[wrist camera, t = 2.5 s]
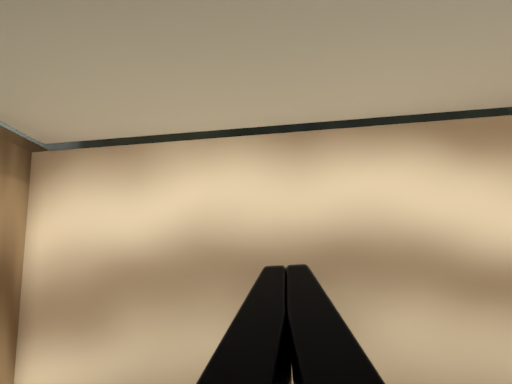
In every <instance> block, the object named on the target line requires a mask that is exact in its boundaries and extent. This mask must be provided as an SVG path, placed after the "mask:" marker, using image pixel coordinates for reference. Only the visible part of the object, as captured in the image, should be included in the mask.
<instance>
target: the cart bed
mask: <svg viewBox="0 0 512 384" xmlns="http://www.w3.org/2000/svg"><path fill="white" fill-rule="evenodd" d="M292 264H306V265H308V267H309V268H310V269H311V271H312V272H313V274H314V275H315V277H316V279H317V280H318V282H319V283H320V285H321V286H322V288H323V289H324V291H325V292H326V294H327V295H328V297H329V298H330V300H331V301H332V303H333V304H334V306H335V308H336V309H337V311H338V312H339V314H340V315H341V317H342V318H343V320H344V321H345V323H346V324H347V326H348V327H349V329H350V330H351V332H352V333H353V335H354V337H355V338H356V340H357V341H358V343H359V344H360V346H361V347H362V349H363V350H364V352H365V353H366V355H367V356H368V358H369V359H370V361H371V362H372V364H373V366H374V367H375V369H376V370H377V372H378V373H379V375H380V376H381V378H382V379H383V381H384V382H385V384H512V115H507V116H494V117H481V118H468V119H455V120H442V121H430V122H417V123H404V124H391V125H378V126H365V127H352V128H340V129H327V130H314V131H301V132H288V133H275V134H262V135H250V136H237V137H224V138H211V139H198V140H185V141H172V142H160V143H147V144H134V145H121V146H108V147H95V148H82V149H69V150H57V151H49V150H47V149H45V148H43V147H41V146H39V145H37V144H35V143H33V142H31V141H29V140H27V139H26V138H24V137H22V136H20V135H18V134H16V133H14V132H12V131H10V130H8V129H6V128H4V127H2V126H0V384H196V383H197V381H198V379H199V378H200V376H201V374H202V372H203V371H204V369H205V367H206V365H207V364H208V362H209V360H210V359H211V357H212V355H213V353H214V352H215V350H216V348H217V347H218V345H219V343H220V341H221V340H222V338H223V336H224V334H225V333H226V331H227V329H228V328H229V326H230V324H231V322H232V321H233V319H234V317H235V316H236V314H237V312H238V310H239V309H240V307H241V305H242V303H243V302H244V300H245V298H246V297H247V295H248V293H249V291H250V290H251V288H252V286H253V285H254V283H255V281H256V279H257V278H258V276H259V274H260V272H261V271H262V269H263V268H264V267H265V266H271V265H283V266H285V268H286V267H287V265H292ZM292 384H293V376H292Z"/></svg>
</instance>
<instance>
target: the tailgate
mask: <svg viewBox="0 0 512 384" xmlns="http://www.w3.org/2000/svg"><path fill="white" fill-rule="evenodd" d="M503 107H512V0H0V121H1V122H3V123H5V124H7V125H9V126H11V127H12V128H14V129H16V130H18V131H20V132H22V133H24V134H26V135H28V136H29V137H31V138H33V139H35V140H37V141H39V142H41V143H43V144H50V143H62V142H75V141H88V140H100V139H113V138H125V137H138V136H151V135H163V134H176V133H188V132H201V131H213V130H226V129H239V128H251V127H264V126H276V125H289V124H301V123H314V122H327V121H339V120H352V119H364V118H377V117H389V116H402V115H415V114H427V113H440V112H452V111H465V110H478V109H490V108H503Z"/></svg>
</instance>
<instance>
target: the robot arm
mask: <svg viewBox="0 0 512 384" xmlns="http://www.w3.org/2000/svg"><path fill="white" fill-rule="evenodd" d="M292 376H293V384H385V382H384V381H383V379H382V378H381V376H380V375H379V373H378V372H377V370H376V369H375V367H374V366H373V364H372V362H371V361H370V359H369V358H368V356H367V355H366V353H365V352H364V350H363V349H362V347H361V346H360V344H359V343H358V341H357V340H356V338H355V337H354V335H353V333H352V332H351V330H350V329H349V327H348V326H347V324H346V323H345V321H344V320H343V318H342V317H341V315H340V314H339V312H338V311H337V309H336V308H335V306H334V304H333V303H332V301H331V300H330V298H329V297H328V295H327V294H326V292H325V291H324V289H323V288H322V286H321V285H320V283H319V282H318V280H317V279H316V277H315V275H314V274H313V272H312V271H311V269H310V268H309V267H308V265H306V264H292V265H287V267H286V268H285V266H283V265H271V266H265V267H264V268H263V269H262V271H261V272H260V274H259V276H258V278H257V279H256V281H255V283H254V285H253V286H252V288H251V290H250V291H249V293H248V295H247V297H246V298H245V300H244V302H243V303H242V305H241V307H240V309H239V310H238V312H237V314H236V316H235V317H234V319H233V321H232V322H231V324H230V326H229V328H228V329H227V331H226V333H225V334H224V336H223V338H222V340H221V341H220V343H219V345H218V347H217V348H216V350H215V352H214V353H213V355H212V357H211V359H210V360H209V362H208V364H207V365H206V367H205V369H204V371H203V372H202V374H201V376H200V378H199V379H198V381H197V383H196V384H292Z"/></svg>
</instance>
